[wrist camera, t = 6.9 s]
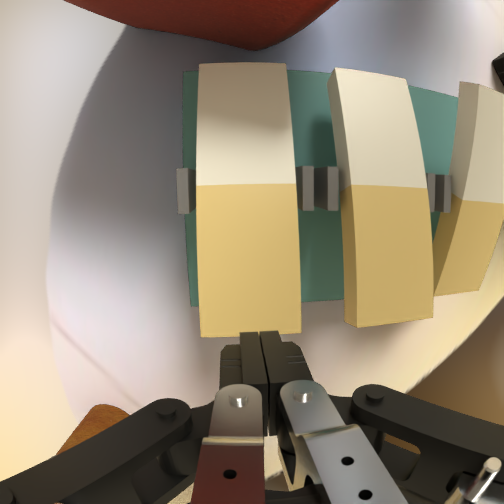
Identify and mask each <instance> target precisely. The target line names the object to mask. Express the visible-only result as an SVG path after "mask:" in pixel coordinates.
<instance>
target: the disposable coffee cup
mask: <svg viewBox="0 0 504 504" xmlns="http://www.w3.org/2000/svg"><path fill="white" fill-rule="evenodd" d="M128 416H130V415H129V414H127V413H126V412H125V411H123V410H121V409H119V408H117V407H114V406H111V405H106V404H100V405H96V406H94V407H93V408H92V409H91V410H90V411H89V412H88V414H87V415H86V416H85V417H84V419H83V420H82V421H81V423H80V424H79V425H78V426H77V428H76V429H75V430H74V431H73V433H72V434H71V436H70V437H69V438H68V439H67V441H66V442H65V443H64V445H63V446H62V447H61V449H60V450H59V451H58V452H57V454H56V455H58V454H60V453H62V452H64V451H66V450H68V449H70V448H72V447H74V446H76V445H77V444H79V443H81V442H83V441H85V440H87V439H89V438H91V437H92V436H94V435H96V434H98V433H100V432H102V431H103V430H105V429H107V428H109V427H111V426H112V425H114V424H116V423H118V422H119V421H121V420H123V419H125V418H126V417H128ZM56 455H55V456H56ZM53 457H54V456H53ZM51 458H52V457H51Z"/></svg>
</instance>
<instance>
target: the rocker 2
mask: <svg viewBox="0 0 504 504" xmlns="http://www.w3.org/2000/svg"><path fill="white" fill-rule="evenodd" d="M327 90H328V96H329V103H330V110H331V118H332V125H333V133H334V142H335V151H336V160H337V167H338V181H339V193H340V206H341V221H342V239H343V262H344V322H346V323H348V324H350V325H352V326H354V327H356V328H360V327H368V326H377V325H385V324H392V323H400V322H407V321H414V320H421V319H427V318H433V248H432V232H431V219H430V208H429V198H428V190H427V182H426V175H425V168H424V161H423V155H422V149H421V144H420V138H419V133H418V128H417V123H416V119H415V114H414V110H413V105H412V101H411V97H410V93H409V89H408V85H407V82H406V79H404V78H399V77H394V76H389V75H383V74H377V73H372V72H365V71H359V70H352V69H344V68H336V67H335V68H334V70H333V72H332V74H331V76H330V78H329V80H328V82H327Z"/></svg>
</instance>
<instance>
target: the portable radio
mask: <svg viewBox="0 0 504 504" xmlns="http://www.w3.org/2000/svg"><path fill="white" fill-rule="evenodd" d="M493 63H494V66H495V69H496V71H497V73H498V75H499V77H500V79H501V81H502V83H503V85H504V53H502V54H501V55H500V56H498V57H497V58H496V59H494V60H493Z"/></svg>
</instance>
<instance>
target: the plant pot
mask: <svg viewBox="0 0 504 504" xmlns="http://www.w3.org/2000/svg"><path fill="white" fill-rule="evenodd" d="M64 1H66V2H69V3H71V4H74V5H76V6H78V7H81V8H83V9H86V10H88V11H91V12H93V13H96V14H98V15H101V16H104V17H107V18H109V19H112V20H115V21H118V22H120V23H123V24H127V25H130V26H133V27H136V28H143V29H151V30H157V31H164V32H170V33H176V34H182V35H187V36H192V37H197V38H202V39H206V40H211V41H215V42H219V43H223V44H228V45H232V46H236V47H239V48H243V49H246V50H250V51H257V50H262V49H265V48H268V47H271V46H273V45H276V44H278V43H280V42H282V41H284V40H286V39H288V38H289V37H291V36H293V35H295V34H296V33H298V32H299V31H301V30H302V29H304V28H305V27H306V26H308V25H309V24H310V23H312V22H313V21H314V20H316V19H317V18H318V17H319V16H321V15H322V14H323V13H324V12H325V11H327V10H328V9H329V8H330V7H331V6H333V5H334V4H335V3H336V2H338V1H339V0H64Z"/></svg>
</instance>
